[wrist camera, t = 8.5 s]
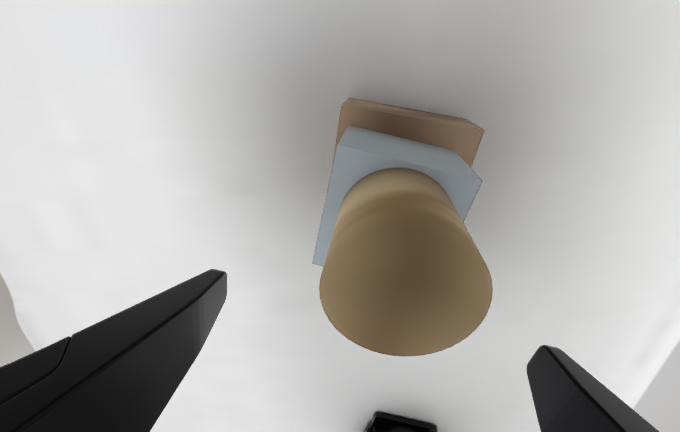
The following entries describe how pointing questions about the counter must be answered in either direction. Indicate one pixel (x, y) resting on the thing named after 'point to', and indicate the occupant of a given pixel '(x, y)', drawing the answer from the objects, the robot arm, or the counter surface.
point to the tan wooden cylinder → (403, 267)
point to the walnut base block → (412, 126)
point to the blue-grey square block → (390, 152)
